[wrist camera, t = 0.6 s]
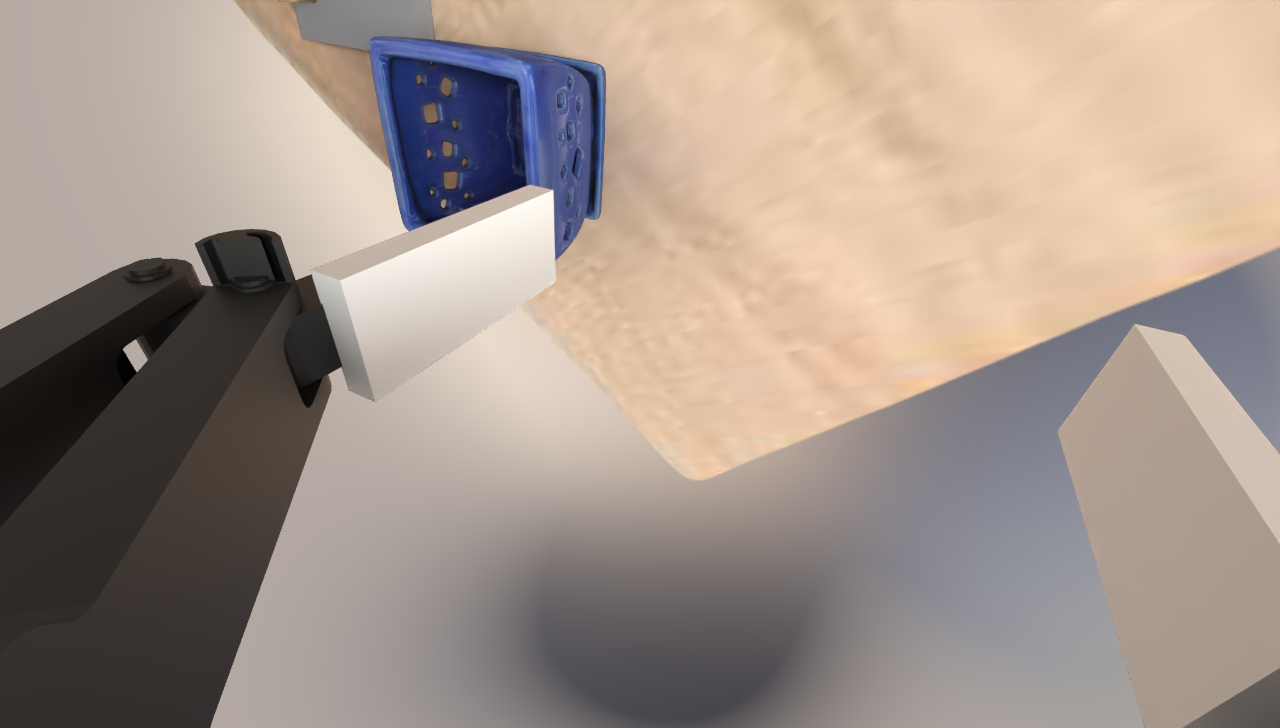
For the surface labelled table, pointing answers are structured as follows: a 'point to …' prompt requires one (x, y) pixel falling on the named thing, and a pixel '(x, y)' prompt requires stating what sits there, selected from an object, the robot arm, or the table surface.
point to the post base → (363, 20)
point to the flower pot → (491, 128)
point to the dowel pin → (303, 0)
